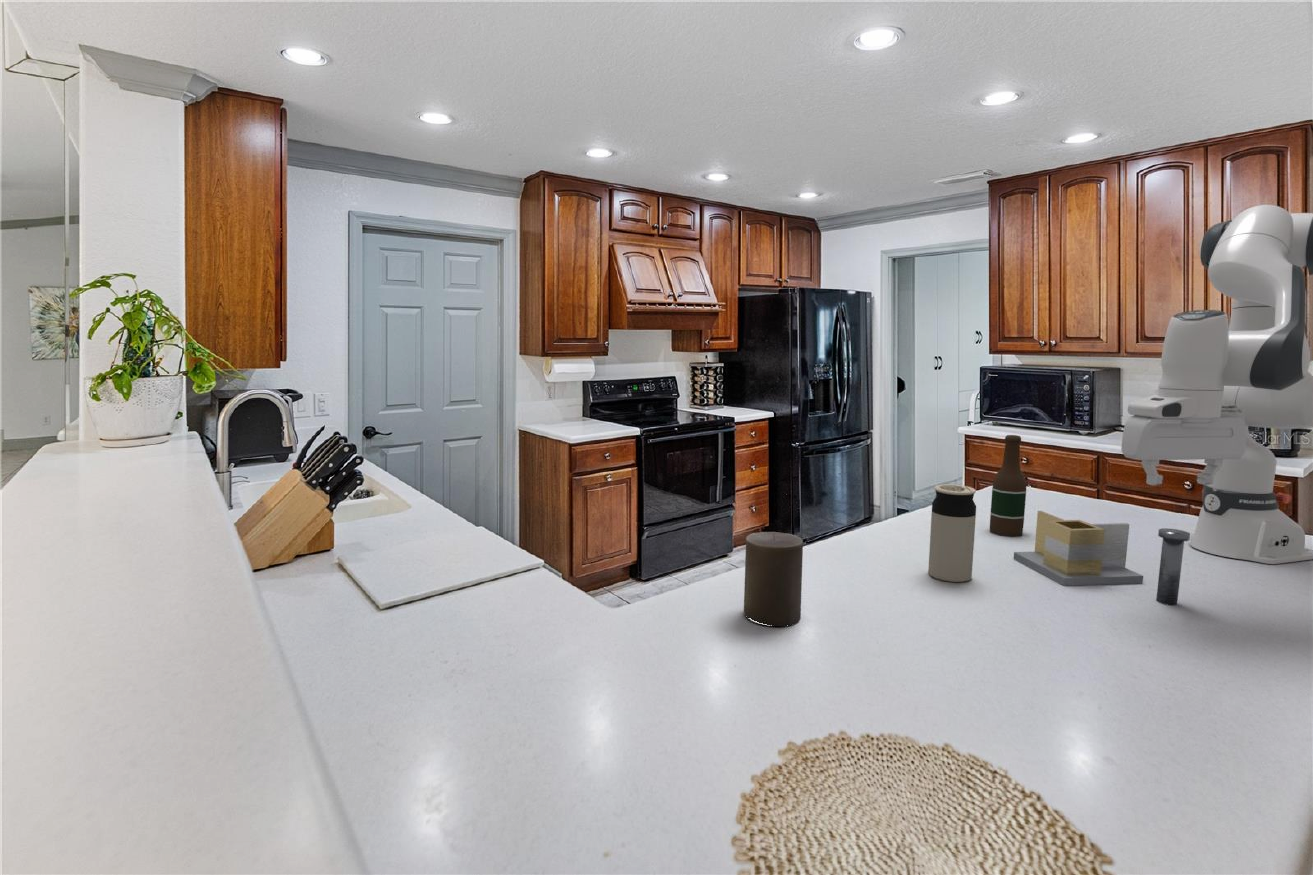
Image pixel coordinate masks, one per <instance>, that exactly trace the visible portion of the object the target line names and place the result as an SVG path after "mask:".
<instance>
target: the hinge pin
mask: <svg viewBox="0 0 1313 875" xmlns="http://www.w3.org/2000/svg"><path fill="white" fill-rule="evenodd" d="M1157 536H1158V537H1159V538H1162V541H1161V551H1160V552H1161V554H1160V562H1159V570H1158V581H1157V589H1156V599H1155V600H1156V602H1158V603H1159V604H1163V605H1167V604H1168V605H1167V606H1177V605H1178V600H1179V599H1178V598H1179V593H1180V592H1179V591H1180V581H1181V573H1182V563H1183V554H1184V547H1185V546H1184V545H1185V542H1187V541H1191V540H1190V538H1191V533H1190V532H1188V531H1186V530H1182V529H1177V528H1165V527H1164V528H1159V529H1158V534H1157Z"/></svg>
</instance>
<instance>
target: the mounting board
mask: <svg viewBox="0 0 1313 875" xmlns="http://www.w3.org/2000/svg"><path fill="white" fill-rule="evenodd" d="M1013 560H1015V561H1017V562H1019V563H1021V564H1023V565H1025V566H1026V567H1028V568H1030V569H1031V570H1034V571H1035V572H1038V573H1039V574H1041V575H1043V576H1045V577H1047V578H1049V579H1051V580H1052V581H1054V582H1055V583H1058V584H1060V585H1061V586H1064V587H1066V586H1067V587H1068V586H1071V587H1072V586H1095V585H1096V586H1099V585H1129V584H1130V585H1131V584H1143V582H1144V575H1143V574H1141V573H1138V572H1136V571H1133V570H1131V569H1129V568H1127V567H1125V568H1102V569H1101V574H1094V575H1065V574H1063V573H1061V572H1059V571H1057V570H1055V569H1053V568H1051V567H1049V566H1047V565H1045V564H1043V560H1044V556H1043V555H1041V554H1039V553H1037V552H1035V550H1034V551H1014V552H1013Z"/></svg>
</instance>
